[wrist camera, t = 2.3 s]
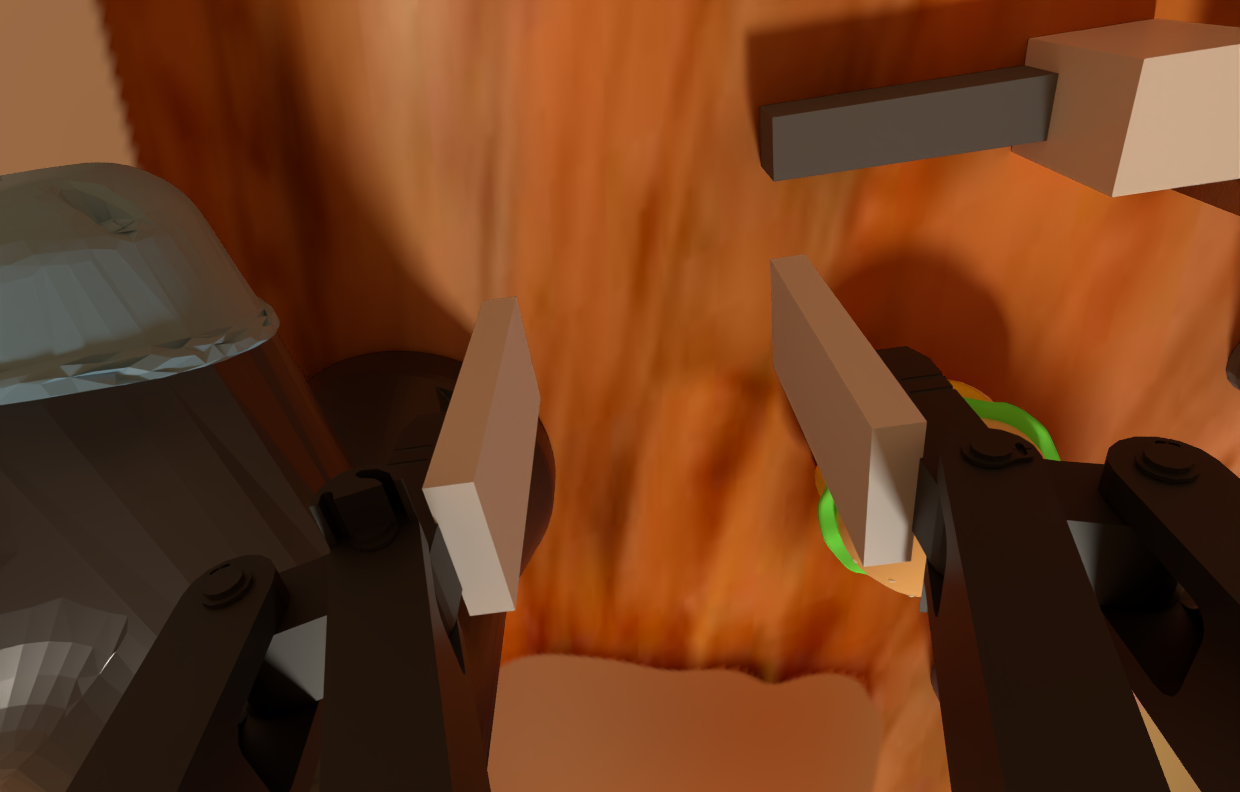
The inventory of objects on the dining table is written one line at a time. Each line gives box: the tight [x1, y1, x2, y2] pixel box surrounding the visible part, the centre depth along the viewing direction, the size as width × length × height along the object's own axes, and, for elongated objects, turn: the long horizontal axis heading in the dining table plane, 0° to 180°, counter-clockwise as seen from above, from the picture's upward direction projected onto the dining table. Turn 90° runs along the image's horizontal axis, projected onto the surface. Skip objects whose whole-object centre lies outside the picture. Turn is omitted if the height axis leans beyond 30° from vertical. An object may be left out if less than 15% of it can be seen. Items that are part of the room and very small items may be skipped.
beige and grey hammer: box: [759, 19, 1240, 197], centre depth 27 cm, size 16×4×7 cm, turn 98°
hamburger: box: [815, 379, 1060, 597], centre depth 36 cm, size 12×12×9 cm
